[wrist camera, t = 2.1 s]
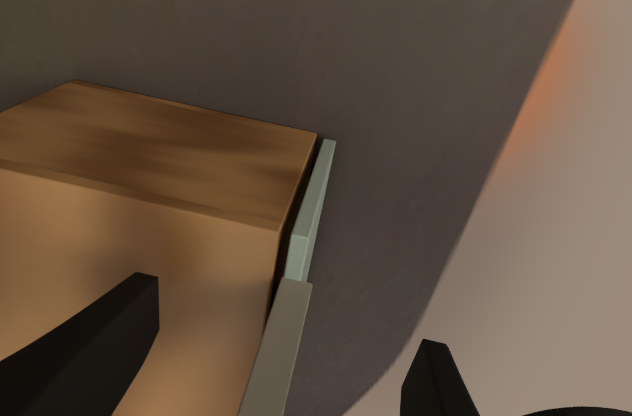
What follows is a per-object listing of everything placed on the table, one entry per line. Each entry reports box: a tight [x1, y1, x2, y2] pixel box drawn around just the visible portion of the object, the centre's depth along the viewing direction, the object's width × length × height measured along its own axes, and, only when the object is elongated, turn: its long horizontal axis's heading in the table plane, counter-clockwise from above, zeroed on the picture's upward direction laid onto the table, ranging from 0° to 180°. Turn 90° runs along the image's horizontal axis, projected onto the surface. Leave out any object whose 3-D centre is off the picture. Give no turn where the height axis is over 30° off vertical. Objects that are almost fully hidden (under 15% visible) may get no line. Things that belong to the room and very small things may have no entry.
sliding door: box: [237, 139, 336, 416], centre depth 15 cm, size 1×8×11 cm, turn 171°
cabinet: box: [0, 80, 317, 416], centre depth 19 cm, size 10×16×7 cm, turn 171°
